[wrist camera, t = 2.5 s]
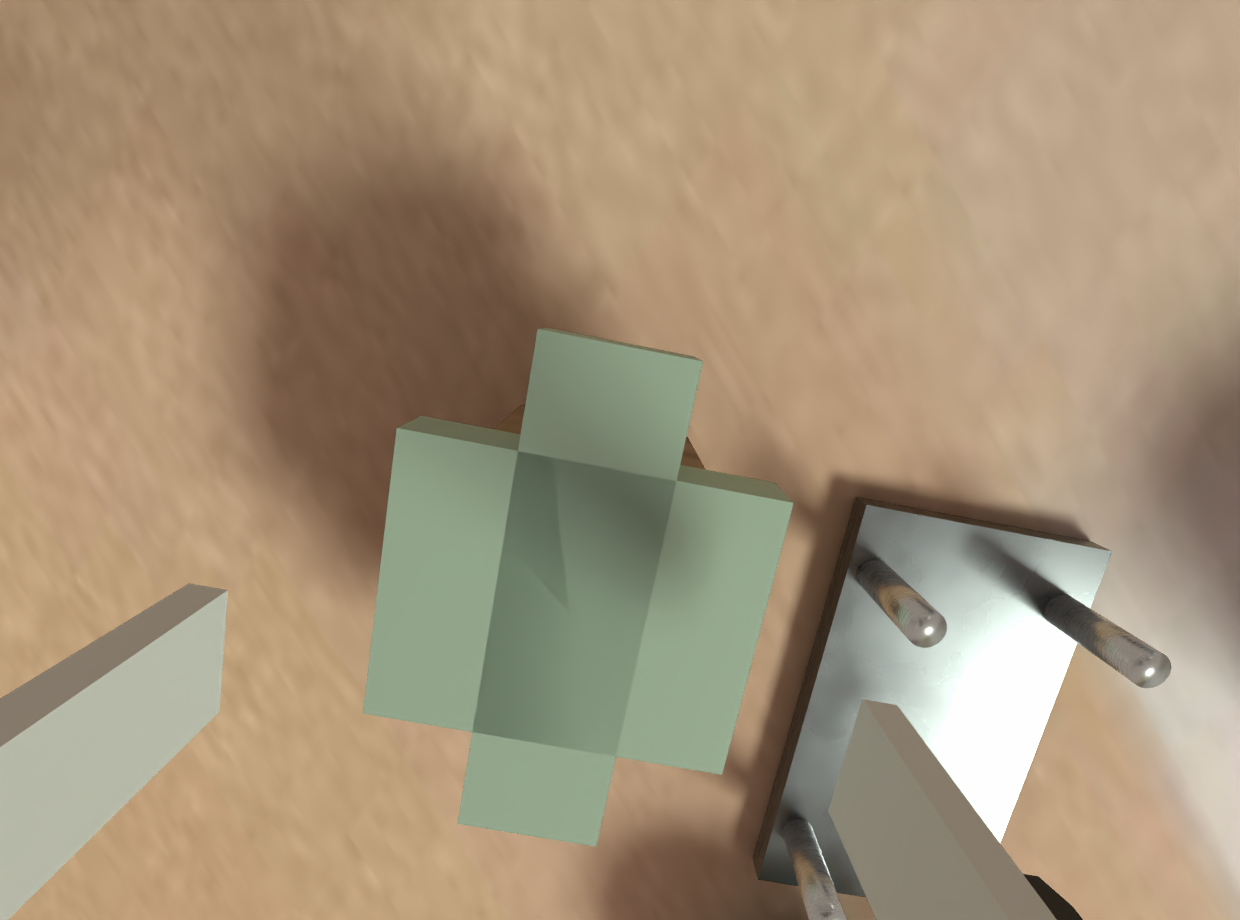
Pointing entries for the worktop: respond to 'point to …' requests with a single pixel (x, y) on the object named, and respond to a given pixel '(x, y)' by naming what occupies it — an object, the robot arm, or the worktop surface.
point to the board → (571, 587)
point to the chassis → (936, 670)
